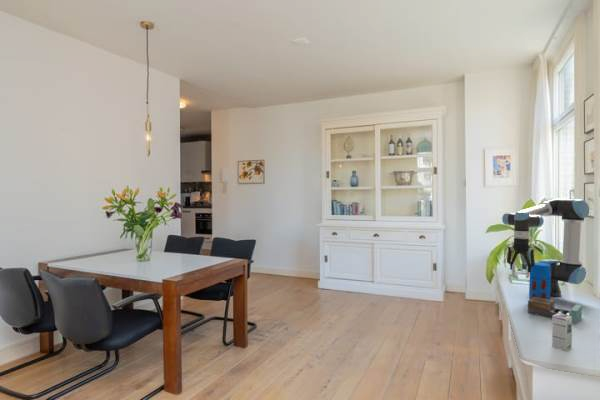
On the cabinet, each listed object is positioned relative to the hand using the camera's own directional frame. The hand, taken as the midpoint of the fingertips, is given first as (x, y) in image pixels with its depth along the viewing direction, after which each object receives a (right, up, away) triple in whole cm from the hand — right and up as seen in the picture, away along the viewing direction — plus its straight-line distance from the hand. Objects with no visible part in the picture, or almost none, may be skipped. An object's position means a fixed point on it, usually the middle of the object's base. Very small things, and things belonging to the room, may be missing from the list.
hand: (520, 276), depth 217 cm
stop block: (+19, -20, -19) cm, 33 cm away
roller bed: (+11, -19, -11) cm, 25 cm away
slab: (+7, -16, -7) cm, 19 cm away
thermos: (+16, -19, +8) cm, 26 cm away
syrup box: (-13, -21, -53) cm, 59 cm away
